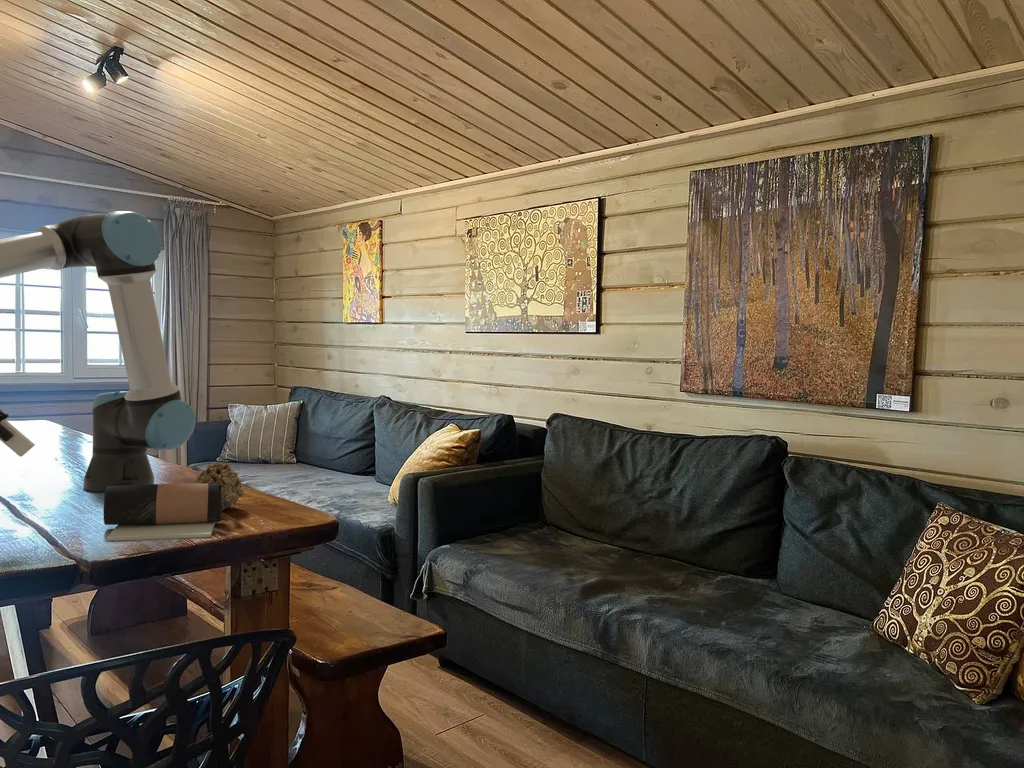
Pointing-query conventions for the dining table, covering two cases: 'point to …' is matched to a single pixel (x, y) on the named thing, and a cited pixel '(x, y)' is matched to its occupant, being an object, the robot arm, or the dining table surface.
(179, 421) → the robot arm
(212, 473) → the pine cone
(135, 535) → the mug mat
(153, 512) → the travel mug
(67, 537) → the dining table surface
